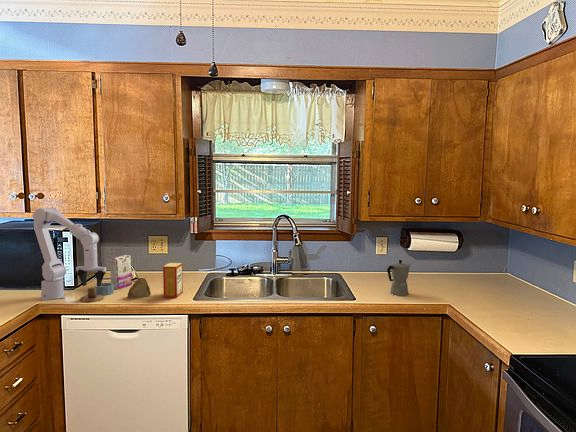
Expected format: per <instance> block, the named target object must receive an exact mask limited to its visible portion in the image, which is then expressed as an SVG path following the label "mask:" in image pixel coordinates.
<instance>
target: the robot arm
mask: <svg viewBox="0 0 576 432" xmlns="http://www.w3.org/2000/svg"><path fill="white" fill-rule="evenodd" d="M31 216H32V219H33V228H34V229H33V230H34V233H35V236H36V238H37V242H38V245H39V248H40V251H41V254H42V258H43V261H44V262H43V264H42V266H41V270H42V274H41V275H42V277H43V279H44V280H41V293H40V294H41V301H48V300H58V299H59V300H60V299H64V298H65V296H66V294H65V293H64V277H65V275H66V274H67V268H66V266H65V265H64V264H63V262H62V261H61V259H59V258H58V257H57V253H56V250H55V247H54V244H53V241H52V238H51V234H50V231H49V227H50V225H51V224H52V223H53V222H56V223H58V224H60V226H63V227H65V228H66V229H68V230H69V233H70V234H71V235H73V236H74V237H75V238H76V239H77V240H79V241H80V244H81V245H82V248H83V259H84V262H83V264H84V265H80V266H76V267H75V271H76V275H77V276H78V277H79V279H80V282H81V285H82V287H84V286H87V283H88V282H87V280H88V279H87V276H88V272H94V274H95V278H96V284H97V287H99V286H101V283H103V279H104V277H105V275H106V272H107V267H106V266H100V265H99V266H98V243H99V241H100V236H99V235H98V234H97V233H96V232H95V231H93V232H91V231H90V230H89V229H87V228H86V227H84V226H83V224H81V223H74V222H72V220H70V219H69V218H67V217H66V216H65V215H64V214H62V212H61V211H60V210H58V209H57V208H55V207H53V206H52V207H46V208H43V207H42V208H36V210H34V212H33V214H32V215H31Z"/></svg>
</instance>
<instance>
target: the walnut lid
mask: <svg viewBox="0 0 576 432" xmlns="http://www.w3.org/2000/svg"><path fill="white" fill-rule="evenodd" d="M104 297H105V295H96V288H95V287H89V288H87V295H84V296H81V297H80V298H79V301H80V302H81V303H86V304H89V303H97V302H101V301H102V300H104V299H105V298H104Z"/></svg>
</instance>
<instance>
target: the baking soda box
mask: <svg viewBox="0 0 576 432" xmlns="http://www.w3.org/2000/svg"><path fill="white" fill-rule="evenodd" d="M162 268H163V269H162V270H163V271H162V278H163V281H162V283H163V285H162V287H163V298H164V299H177V298H178V297H180V296H181V295H182V294H184V293H183V290H184V289H183V285H184V284H183V263H182V262H168V263H165V265H163V266H162Z"/></svg>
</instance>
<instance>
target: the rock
mask: <svg viewBox="0 0 576 432" xmlns="http://www.w3.org/2000/svg"><path fill="white" fill-rule="evenodd" d="M148 283H149V282H148V281H147V280H146V278H145V277H139V278H138V279H136V280H135V281H134V283H132V286H131V287H129V290H128V293H127V297H126V298H127V299H133V298H144V297H150V296H151V295H152V293H151V290H150V286H149V284H148Z"/></svg>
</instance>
